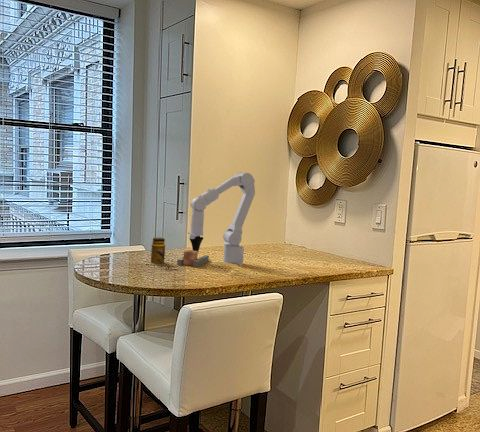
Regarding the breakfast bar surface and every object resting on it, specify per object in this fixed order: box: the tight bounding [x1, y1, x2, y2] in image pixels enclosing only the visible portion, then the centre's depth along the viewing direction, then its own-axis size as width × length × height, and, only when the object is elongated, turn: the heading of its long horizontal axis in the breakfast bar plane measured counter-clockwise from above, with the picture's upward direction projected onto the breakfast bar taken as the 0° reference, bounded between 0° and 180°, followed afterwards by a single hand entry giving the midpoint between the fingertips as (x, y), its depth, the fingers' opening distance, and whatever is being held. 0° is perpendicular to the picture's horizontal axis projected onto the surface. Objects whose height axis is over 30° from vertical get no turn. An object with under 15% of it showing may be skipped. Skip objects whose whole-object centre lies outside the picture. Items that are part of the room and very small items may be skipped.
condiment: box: [145, 237, 166, 267], centre depth 218 cm, size 7×8×12 cm
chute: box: [176, 254, 210, 268], centre depth 224 cm, size 10×18×3 cm, turn 168°
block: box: [182, 249, 199, 267], centre depth 219 cm, size 5×5×6 cm
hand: (195, 252), depth 226 cm, fingers closed
